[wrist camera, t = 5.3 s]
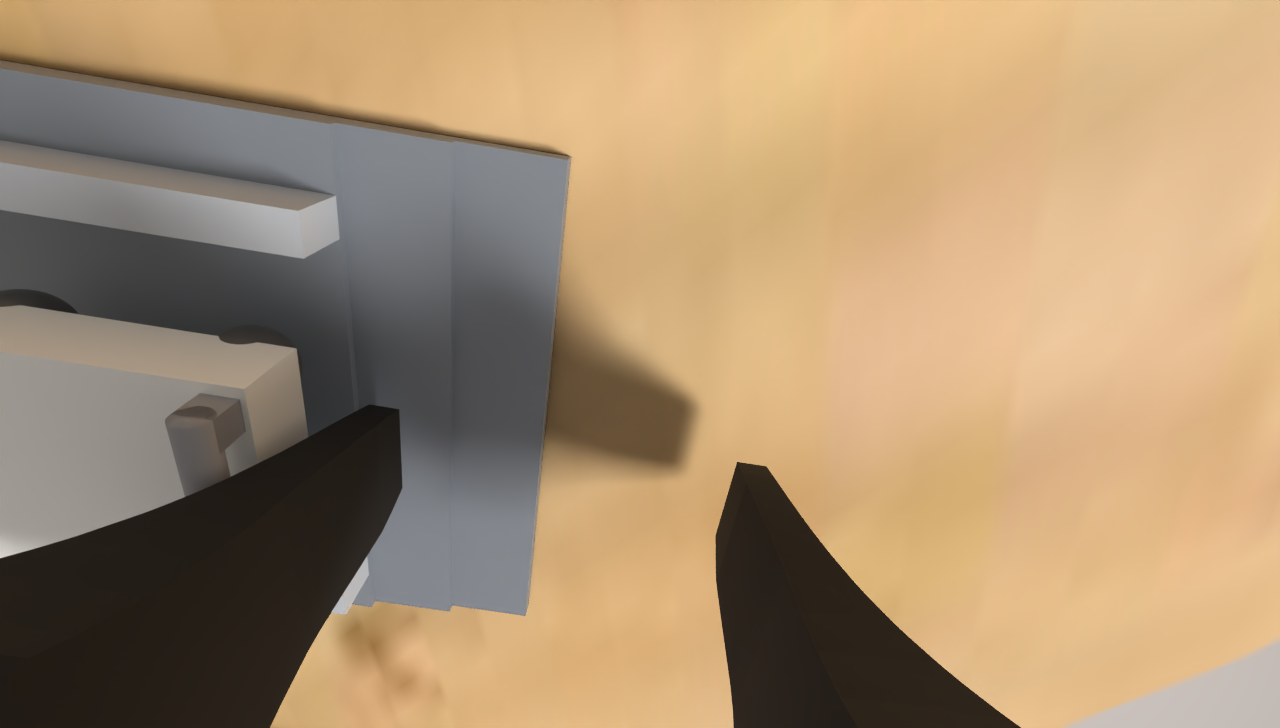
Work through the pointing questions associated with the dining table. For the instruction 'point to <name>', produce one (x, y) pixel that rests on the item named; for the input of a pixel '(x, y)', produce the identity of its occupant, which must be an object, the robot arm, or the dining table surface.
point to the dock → (320, 286)
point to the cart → (129, 415)
